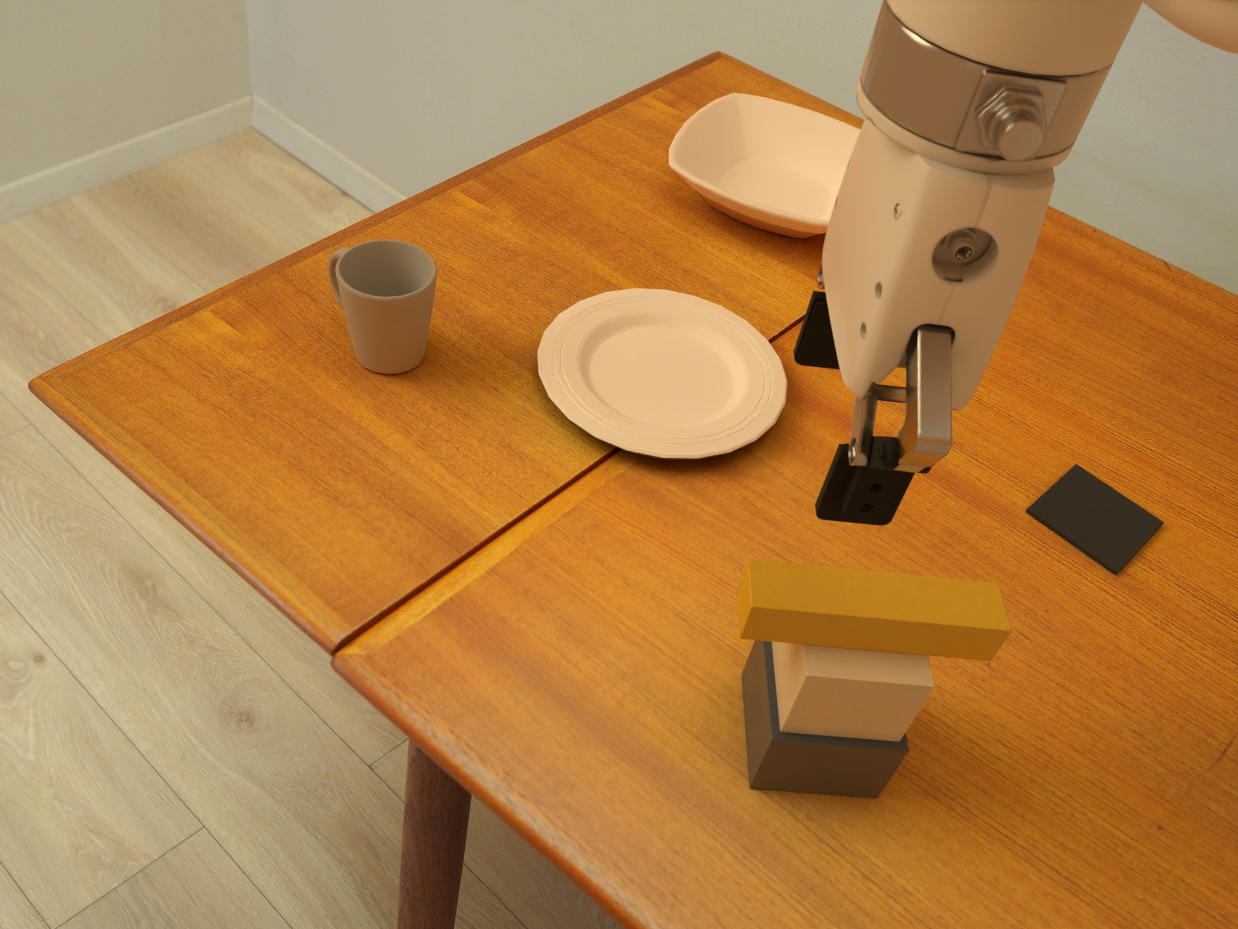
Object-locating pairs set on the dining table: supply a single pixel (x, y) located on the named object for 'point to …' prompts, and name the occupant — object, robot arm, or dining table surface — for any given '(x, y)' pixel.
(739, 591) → the bar
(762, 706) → the tower
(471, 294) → the dining table surface
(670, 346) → the plate
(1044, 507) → the mat
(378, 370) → the cup
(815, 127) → the bowl
